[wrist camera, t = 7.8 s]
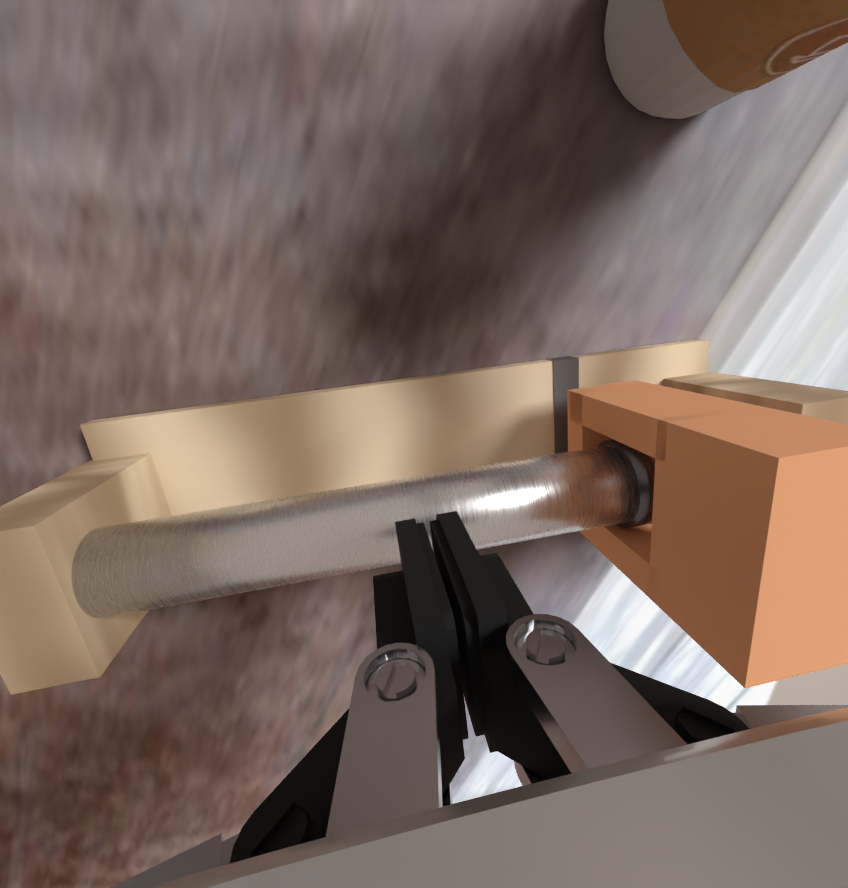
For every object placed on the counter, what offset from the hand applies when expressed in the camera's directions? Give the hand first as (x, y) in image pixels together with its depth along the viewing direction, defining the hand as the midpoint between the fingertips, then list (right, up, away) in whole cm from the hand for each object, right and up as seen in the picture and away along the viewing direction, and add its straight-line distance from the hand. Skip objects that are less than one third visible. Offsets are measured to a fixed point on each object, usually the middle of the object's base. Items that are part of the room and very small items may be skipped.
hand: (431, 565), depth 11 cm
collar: (+8, +3, +7) cm, 11 cm away
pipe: (+1, +1, +5) cm, 5 cm away
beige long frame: (0, +2, +9) cm, 9 cm away
